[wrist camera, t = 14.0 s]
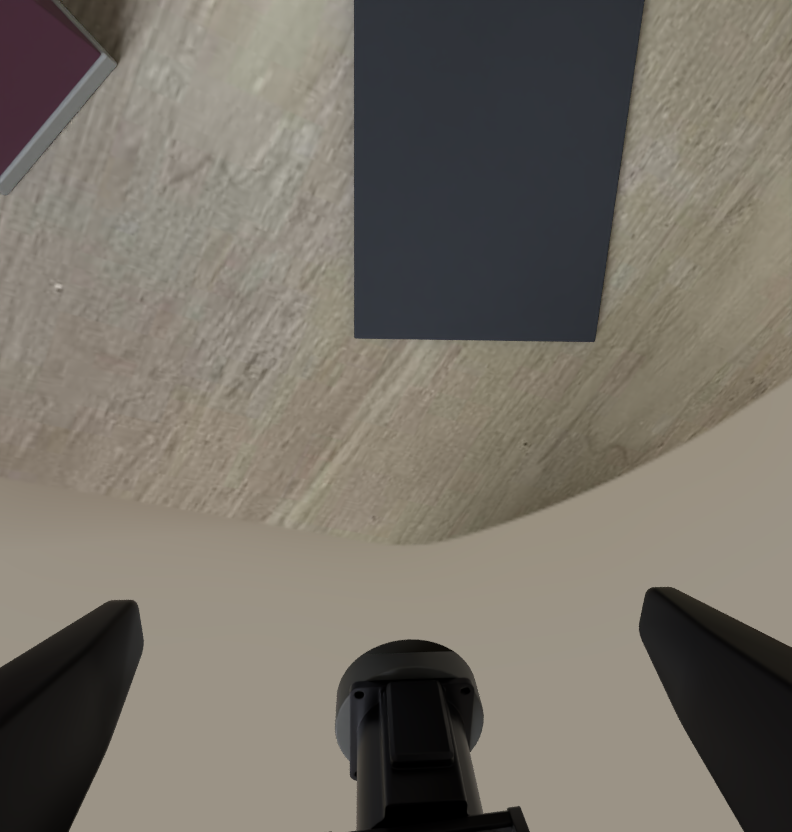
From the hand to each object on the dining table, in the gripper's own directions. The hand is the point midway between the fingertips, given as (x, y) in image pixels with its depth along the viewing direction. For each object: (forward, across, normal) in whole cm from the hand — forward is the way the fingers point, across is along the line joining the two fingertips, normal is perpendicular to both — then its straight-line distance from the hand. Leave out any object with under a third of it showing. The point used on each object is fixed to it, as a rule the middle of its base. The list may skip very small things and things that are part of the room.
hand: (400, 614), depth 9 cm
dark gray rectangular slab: (+13, -4, -11) cm, 17 cm away
